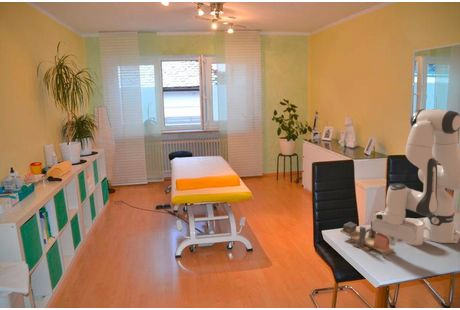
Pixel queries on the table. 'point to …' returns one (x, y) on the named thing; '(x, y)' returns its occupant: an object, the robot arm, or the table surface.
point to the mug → (418, 231)
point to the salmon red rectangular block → (381, 241)
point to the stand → (361, 242)
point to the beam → (351, 231)
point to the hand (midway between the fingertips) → (392, 244)
